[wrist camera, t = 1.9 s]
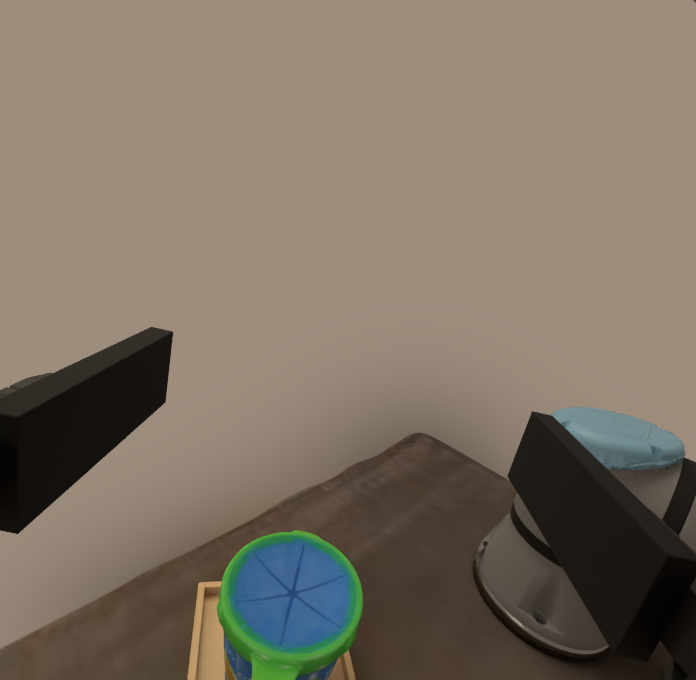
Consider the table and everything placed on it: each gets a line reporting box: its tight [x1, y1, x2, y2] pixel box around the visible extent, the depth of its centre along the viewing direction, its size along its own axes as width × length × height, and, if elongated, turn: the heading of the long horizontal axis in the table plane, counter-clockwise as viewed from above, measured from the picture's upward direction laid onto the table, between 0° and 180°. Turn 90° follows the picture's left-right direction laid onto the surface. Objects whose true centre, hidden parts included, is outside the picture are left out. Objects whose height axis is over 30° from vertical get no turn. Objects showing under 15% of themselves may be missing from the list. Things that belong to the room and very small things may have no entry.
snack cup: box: [217, 531, 363, 680], centre depth 31 cm, size 16×11×10 cm
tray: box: [187, 581, 356, 680], centre depth 32 cm, size 13×17×1 cm
